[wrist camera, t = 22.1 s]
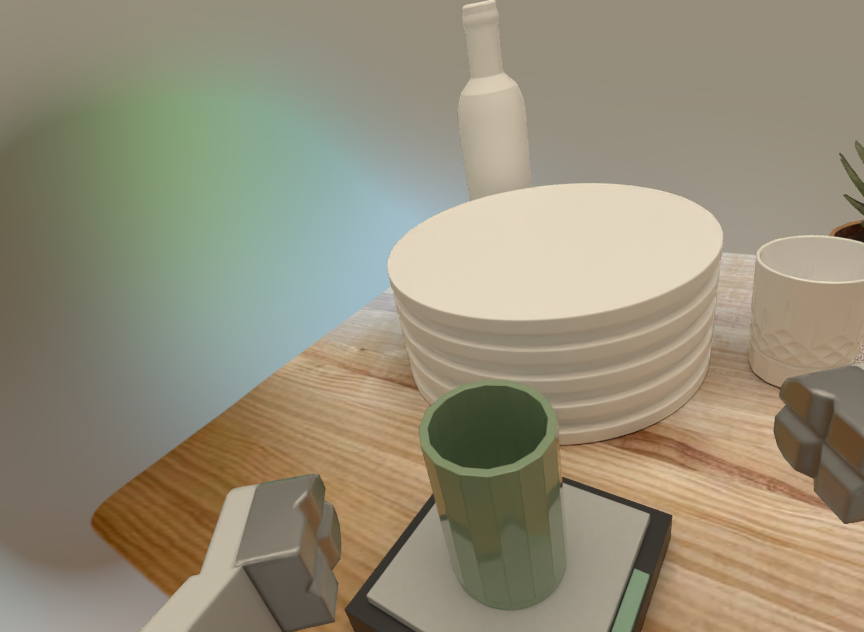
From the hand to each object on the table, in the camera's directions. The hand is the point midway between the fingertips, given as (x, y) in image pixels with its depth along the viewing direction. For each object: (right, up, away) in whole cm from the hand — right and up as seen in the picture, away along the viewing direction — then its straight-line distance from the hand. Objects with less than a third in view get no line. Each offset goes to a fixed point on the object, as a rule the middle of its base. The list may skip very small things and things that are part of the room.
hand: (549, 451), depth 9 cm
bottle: (+8, +9, +60) cm, 61 cm away
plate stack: (+10, 0, +42) cm, 43 cm away
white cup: (+28, -2, +33) cm, 43 cm away
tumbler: (+2, -11, +20) cm, 23 cm away
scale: (+3, -14, +22) cm, 26 cm away
